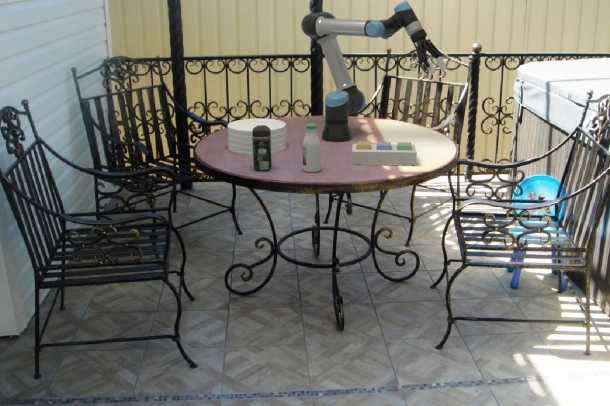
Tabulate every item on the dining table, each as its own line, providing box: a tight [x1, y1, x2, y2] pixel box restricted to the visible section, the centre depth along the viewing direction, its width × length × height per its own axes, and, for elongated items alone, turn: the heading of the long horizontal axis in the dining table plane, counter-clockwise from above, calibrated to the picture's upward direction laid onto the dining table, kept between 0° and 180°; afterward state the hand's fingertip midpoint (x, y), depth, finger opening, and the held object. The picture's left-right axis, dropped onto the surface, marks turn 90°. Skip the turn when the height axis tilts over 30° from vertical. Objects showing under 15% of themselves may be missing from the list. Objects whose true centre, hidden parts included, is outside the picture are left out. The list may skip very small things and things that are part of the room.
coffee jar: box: [252, 125, 273, 172], centre depth 284 cm, size 10×8×19 cm
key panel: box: [351, 143, 418, 166], centre depth 296 cm, size 28×14×6 cm, turn 85°
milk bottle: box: [302, 123, 322, 173], centre depth 281 cm, size 8×8×20 cm
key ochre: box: [356, 141, 372, 150], centre depth 296 cm, size 6×6×4 cm
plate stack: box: [227, 118, 287, 156], centre depth 320 cm, size 28×28×12 cm
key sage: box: [396, 141, 413, 150], centre depth 294 cm, size 6×6×4 cm
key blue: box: [376, 141, 392, 150], centre depth 295 cm, size 6×6×4 cm
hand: (439, 71), depth 311 cm, fingers open, 13 cm apart
